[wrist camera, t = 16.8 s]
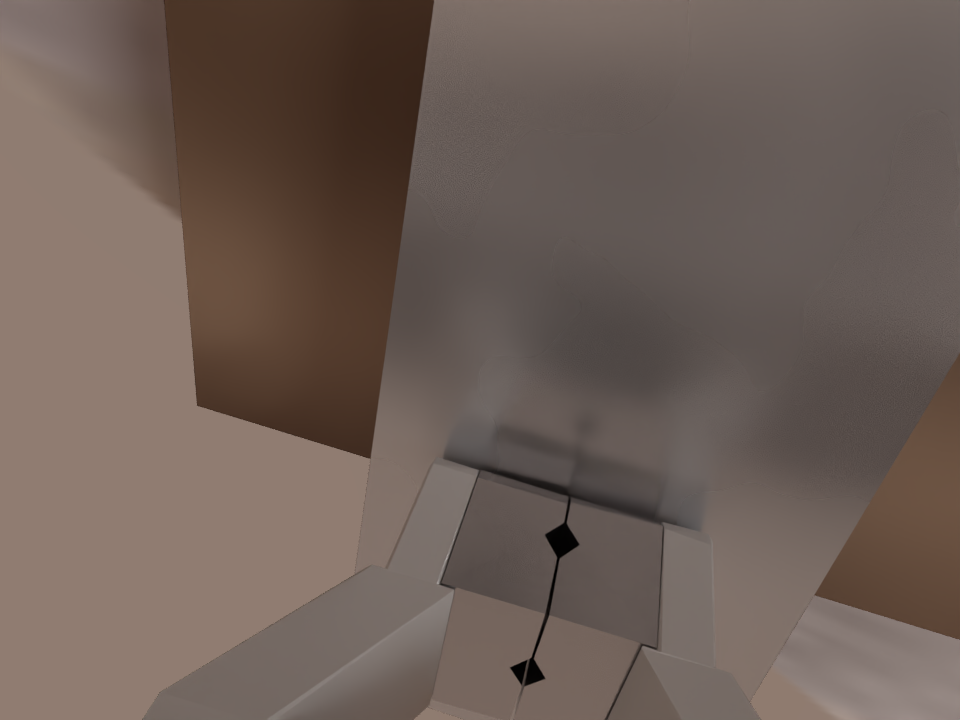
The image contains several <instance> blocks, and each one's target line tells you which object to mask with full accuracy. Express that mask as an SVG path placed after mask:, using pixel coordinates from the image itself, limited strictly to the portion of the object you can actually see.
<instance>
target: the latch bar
mask: <svg viewBox="0 0 960 720" xmlns="http://www.w3.org/2000/svg"><path fill="white" fill-rule="evenodd" d="M959 353H960V0H434V6H433V13H432V21H431V28H430V35H429V42H428V49H427V57H426V64H425V71H424V78H423V85H422V93H421V100H420V107H419V114H418V121H417V129H416V136H415V143H414V150H413V157H412V164H411V172H410V179H409V186H408V193H407V200H406V208H405V215H404V222H403V229H402V236H401V244H400V251H399V258H398V265H397V272H396V280H395V287H394V294H393V301H392V308H391V316H390V323H389V330H388V337H387V344H386V352H385V359H384V366H383V373H382V380H381V388H380V395H379V402H378V409H377V416H376V424H375V431H374V438H373V445H372V452H371V460H370V467H369V474H368V481H367V488H366V495H365V503H364V510H363V517H362V525H361V531H360V539H359V547H358V553H357V561H356V567H355V574H356V573H358V572H360V571H361V570H363V569H365V568H366V567H368V566H370V565H375V566H379V567H382V568H385V567H386V565H387V562H388V560H389V558H390V556H391V553H392V551H393V549H394V546H395V544H396V542H397V540H398V537H399V535H400V533H401V530H402V528H403V526H404V524H405V521H406V519H407V517H408V514H409V512H410V510H411V508H412V505H413V503H414V501H415V498H416V496H417V494H418V492H419V489H420V487H421V485H422V482H423V480H424V478H425V475H426V473H427V471H428V469H429V466H430V465H431V464H432V462H433V461H434V460H435V459H436V457H439V458H442V459H445V460H448V461H451V462H455V463H458V464H461V465H464V466H467V467H470V468H473V469H477V470H480V472H481V470H484V471H487V472H490V473H493V474H497V475H500V476H503V477H506V478H510V479H513V480H516V481H519V482H522V483H526V484H529V485H532V486H535V487H539V488H542V489H545V490H548V491H552V492H555V493H558V494H561V495H564V496H568V502H569V499H570V497H573V498H576V499H580V500H584V501H587V502H591V503H595V504H598V505H602V506H606V507H609V508H613V509H616V510H620V511H624V512H627V513H631V514H635V515H638V516H642V517H645V518H649V519H653V520H656V521H659V522H660V523H661V522H665V523H669V524H673V525H676V526H680V527H684V528H687V529H691V530H695V531H698V532H702V533H706V534H709V536H710V538H711V540H712V542H713V574H714V609H715V644H716V668H717V669H720V670H723V671H726V672H729V673H732V675H733V677H734V678H735V680H736V681H737V683H738V684H739V686H740V687H741V689H742V691H743V692H744V694H745V695H746V697H747V698H748V700H749V702H750V701H751V700H752V698H753V696H754V695H755V693H756V691H757V689H758V688H759V686H760V685H761V683H762V681H763V679H764V678H765V676H766V675H767V673H768V671H769V670H770V668H771V666H772V665H773V663H774V661H775V660H776V658H777V656H778V655H779V653H780V651H781V650H782V648H783V646H784V645H785V643H786V641H787V640H788V638H789V636H790V635H791V633H792V631H793V630H794V628H795V626H796V625H797V623H798V621H799V620H800V618H801V616H802V615H803V613H804V611H805V610H806V608H807V606H808V605H809V603H810V601H811V600H812V598H813V596H814V595H815V593H816V591H817V590H818V588H819V586H820V585H821V583H822V581H823V580H824V578H825V576H826V575H827V573H828V571H829V570H830V568H831V566H832V565H833V563H834V561H835V560H836V558H837V556H838V555H839V553H840V551H841V550H842V548H843V546H844V545H845V543H846V541H847V540H848V538H849V536H850V535H851V533H852V531H853V530H854V528H855V526H856V525H857V523H858V521H859V520H860V518H861V516H862V515H863V513H864V511H865V510H866V508H867V506H868V505H869V503H870V501H871V500H872V498H873V496H874V495H875V493H876V491H877V490H878V488H879V486H880V485H881V483H882V481H883V480H884V478H885V476H886V475H887V473H888V471H889V470H890V468H891V466H892V465H893V463H894V461H895V460H896V458H897V456H898V455H899V453H900V451H901V450H902V448H903V446H904V445H905V443H906V441H907V440H908V438H909V436H910V435H911V433H912V431H913V430H914V428H915V426H916V425H917V423H918V421H919V420H920V418H921V416H922V415H923V413H924V411H925V410H926V408H927V406H928V405H929V403H930V401H931V400H932V398H933V396H934V395H935V393H936V391H937V390H938V388H939V386H940V385H941V383H942V381H943V380H944V378H945V376H946V375H947V373H948V371H949V370H950V368H951V366H952V365H953V363H954V361H955V360H956V358H957V356H958V355H959ZM517 699H518V698H517ZM516 704H517V701H516ZM516 704H515V707H514V710H513V713H512V715H511V718H510V720H513V719H514V714H515V709H516ZM428 708H431V709H434V710H437V711H440V712H443V713H446V714H449V715H452V716H455V717H458V718H460V719H463V720H500V719H497V718H493V717H490V716H487V715H483V714H480V713H476V712H473V711H469V710H466V709H462V708H459V707H455V706H452V705H448V704H445V703H441V702H438V701H434V700H431V701H430V705H429V706H428Z"/></svg>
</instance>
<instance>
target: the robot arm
mask: <svg viewBox="0 0 960 720" xmlns="http://www.w3.org/2000/svg"><path fill="white" fill-rule="evenodd" d="M517 698H518V699H517ZM431 700H434V701H438V702H441V703H445V704H448V705H452V706H455V707H459V708H462V709H466V710H469V711H473V712H476V713H480V714H483V715H487V716H490V717H493V718H497V719H500V720H510V718H511V715H512V713H513V710H514V707H515V704H516V701H517V704H516V709H515V714H514V719H513V720H761V719H760V717H759V716H758V714H757V712H756V711H755V709H754V708H753V706H752V705H751V703H750V702H749V700H748V698H747V697H746V695H745V694H744V692H743V691H742V689H741V687H740V686H739V684H738V683H737V681H736V680H735V678H734V677H733V675H732V673H729V672H726V671H723V670H720V669H717V668H716V644H715V609H714V574H713V542H712V540H711V538H710V536H709V534H706V533H702V532H698V531H695V530H691V529H687V528H684V527H680V526H676V525H673V524H669V523H665V522H661V523H660V522H659V521H656V520H653V519H649V518H645V517H642V516H638V515H635V514H631V513H627V512H624V511H620V510H616V509H613V508H609V507H606V506H602V505H598V504H595V503H591V502H587V501H584V500H580V499H576V498H573V497H570V499H569V502H568V496H564V495H561V494H558V493H555V492H552V491H548V490H545V489H542V488H539V487H535V486H532V485H529V484H526V483H522V482H519V481H516V480H513V479H510V478H506V477H503V476H500V475H497V474H493V473H490V472H487V471H484V470H481V472H480V470H477V469H473V468H470V467H467V466H464V465H461V464H458V463H455V462H451V461H448V460H445V459H442V458H439V457H436V459H435V460H434V461H433V462H432V464H431V465H430V466H429V469H428V471H427V473H426V475H425V478H424V480H423V482H422V485H421V487H420V489H419V492H418V494H417V496H416V498H415V501H414V503H413V505H412V508H411V510H410V512H409V514H408V517H407V519H406V521H405V524H404V526H403V528H402V530H401V533H400V535H399V537H398V540H397V542H396V544H395V546H394V549H393V551H392V553H391V556H390V558H389V560H388V562H387V565H386V567H385V568H382V567H379V566H375V565H370V566H368V567H366V568H365V569H363V570H361V571H360V572H358V573H356V574H355V575H353V576H351V577H350V578H348V579H347V580H345V581H343V582H341V583H340V584H338V585H337V586H335V587H333V588H332V589H330V590H328V591H327V592H325V593H323V594H322V595H320V596H318V597H317V598H315V599H313V600H312V601H310V602H308V603H307V604H305V605H303V606H302V607H300V608H298V609H297V610H295V611H294V612H292V613H290V614H289V615H287V616H285V617H284V618H282V619H280V620H279V621H277V622H275V623H274V624H272V625H270V626H269V627H267V628H265V629H264V630H262V631H260V632H259V633H257V634H255V635H254V636H252V637H250V638H249V639H247V640H245V641H244V642H242V643H240V644H239V645H237V646H236V647H234V648H232V649H231V650H229V651H227V652H226V653H224V654H222V655H221V656H219V657H217V658H216V659H214V660H213V661H211V662H209V663H207V664H206V665H204V666H202V667H201V668H199V669H198V670H196V671H194V672H193V673H191V674H189V675H188V676H186V677H184V678H183V679H181V680H179V681H178V682H176V683H174V684H173V685H171V686H170V687H168V688H166V689H164V690H163V691H161V692H160V693H159V694H158V696H157V698H156V699H155V701H154V702H153V704H152V705H151V707H150V708H149V710H148V712H147V713H146V715H145V716H144V718H143V719H142V720H414V719H415V718H416V717H417V716H418V715H419V714H420V713H421V712H422V711H423V710H424V709H426V708H427V707H428V706H429V705H430V701H431Z"/></svg>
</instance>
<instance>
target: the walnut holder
mask: <svg viewBox="0 0 960 720" xmlns="http://www.w3.org/2000/svg"><path fill="white" fill-rule="evenodd" d="M164 4H165V17H166V29H167V41H168V53H169V66H170V78H171V90H172V103H173V115H174V127H175V139H176V152H177V164H178V176H179V189H180V201H181V213H182V225H183V238H184V250H185V262H186V274H187V285H188V286H187V287H188V298H189V310H190V323H191V335H192V347H193V360H194V373H195V385H196V397H197V406H200V407H204V408H207V409H210V410H213V411H216V412H220V413H223V414H226V415H230V416H233V417H236V418H239V419H243V420H246V421H249V422H252V423H256V424H259V425H262V426H265V427H269V428H272V429H275V430H278V431H282V432H285V433H288V434H292V435H295V436H298V437H302V438H304V439H308V440H311V441H314V442H317V443H321V444H324V445H327V446H331V447H334V448H337V449H340V450H344V451H347V452H350V453H353V454H357V455H360V456H363V457H366V458H370V459H371V452H372V445H373V438H374V431H375V424H376V416H377V409H378V402H379V395H380V388H381V380H382V373H383V366H384V359H385V352H386V344H387V337H388V330H389V323H390V316H391V308H392V301H393V294H394V287H395V280H396V272H397V265H398V258H399V251H400V244H401V236H402V229H403V222H404V215H405V208H406V200H407V193H408V186H409V179H410V172H411V164H412V157H413V150H414V143H415V136H416V129H417V121H418V114H419V107H420V100H421V93H422V85H423V78H424V71H425V64H426V57H427V49H428V42H429V35H430V28H431V21H432V13H433V6H434V0H164ZM815 595H816V596H819V597H822V598H826V599H829V600H832V601H835V602H839V603H842V604H845V605H848V606H852V607H855V608H858V609H862V610H865V611H868V612H871V613H875V614H878V615H881V616H884V617H888V618H891V619H894V620H897V621H901V622H904V623H907V624H910V625H914V626H917V627H920V628H923V629H927V630H930V631H933V632H936V633H940V634H943V635H946V636H949V637H953V638H956V639H959V640H960V353H959V355H958V356H957V358H956V360H955V361H954V363H953V365H952V366H951V368H950V370H949V371H948V373H947V375H946V376H945V378H944V380H943V381H942V383H941V385H940V386H939V388H938V390H937V391H936V393H935V395H934V396H933V398H932V400H931V401H930V403H929V405H928V406H927V408H926V410H925V411H924V413H923V415H922V416H921V418H920V420H919V421H918V423H917V425H916V426H915V428H914V430H913V431H912V433H911V435H910V436H909V438H908V440H907V441H906V443H905V445H904V446H903V448H902V450H901V451H900V453H899V455H898V456H897V458H896V460H895V461H894V463H893V465H892V466H891V468H890V470H889V471H888V473H887V475H886V476H885V478H884V480H883V481H882V483H881V485H880V486H879V488H878V490H877V491H876V493H875V495H874V496H873V498H872V500H871V501H870V503H869V505H868V506H867V508H866V510H865V511H864V513H863V515H862V516H861V518H860V520H859V521H858V523H857V525H856V526H855V528H854V530H853V531H852V533H851V535H850V536H849V538H848V540H847V541H846V543H845V545H844V546H843V548H842V550H841V551H840V553H839V555H838V556H837V558H836V560H835V561H834V563H833V565H832V566H831V568H830V570H829V571H828V573H827V575H826V576H825V578H824V580H823V581H822V583H821V585H820V586H819V588H818V590H817V591H816V593H815Z"/></svg>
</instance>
